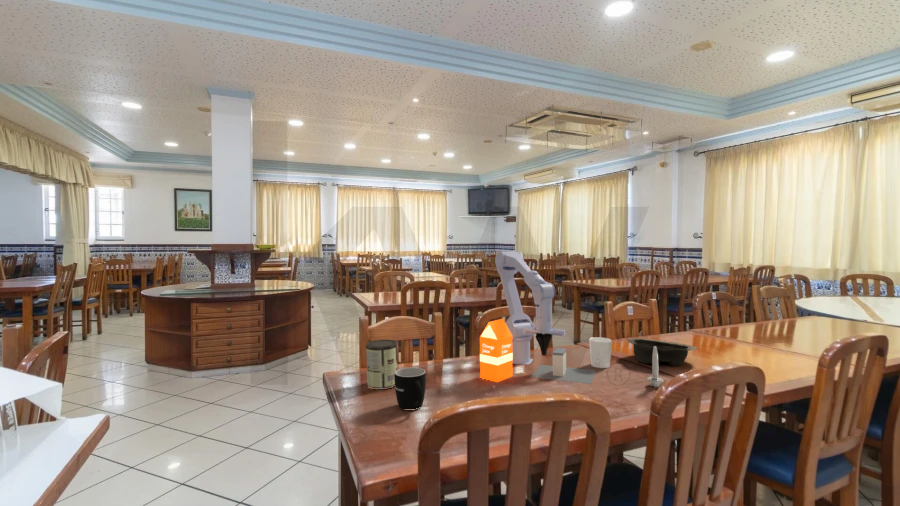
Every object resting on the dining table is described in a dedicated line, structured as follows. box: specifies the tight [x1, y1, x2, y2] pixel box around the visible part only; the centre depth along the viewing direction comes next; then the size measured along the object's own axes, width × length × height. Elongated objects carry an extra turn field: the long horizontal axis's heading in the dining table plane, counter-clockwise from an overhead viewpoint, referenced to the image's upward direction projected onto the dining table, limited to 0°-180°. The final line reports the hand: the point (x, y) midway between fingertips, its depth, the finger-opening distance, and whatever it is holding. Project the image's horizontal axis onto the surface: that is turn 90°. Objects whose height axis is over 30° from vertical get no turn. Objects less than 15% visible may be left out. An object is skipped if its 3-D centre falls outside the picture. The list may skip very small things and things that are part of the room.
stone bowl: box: [626, 336, 698, 367], centre depth 168 cm, size 25×25×9 cm
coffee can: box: [365, 339, 398, 389], centre depth 144 cm, size 10×10×14 cm
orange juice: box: [479, 318, 514, 383], centre depth 150 cm, size 8×9×20 cm
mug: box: [394, 366, 427, 410], centre depth 123 cm, size 12×9×10 cm
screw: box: [646, 346, 665, 388], centre depth 139 cm, size 13×5×5 cm
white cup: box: [588, 336, 612, 369], centre depth 162 cm, size 8×8×10 cm
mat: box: [530, 364, 597, 385], centre depth 153 cm, size 20×16×1 cm
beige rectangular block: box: [552, 347, 567, 376], centre depth 153 cm, size 4×7×8 cm, turn 157°
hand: (544, 354), depth 155 cm, fingers closed
